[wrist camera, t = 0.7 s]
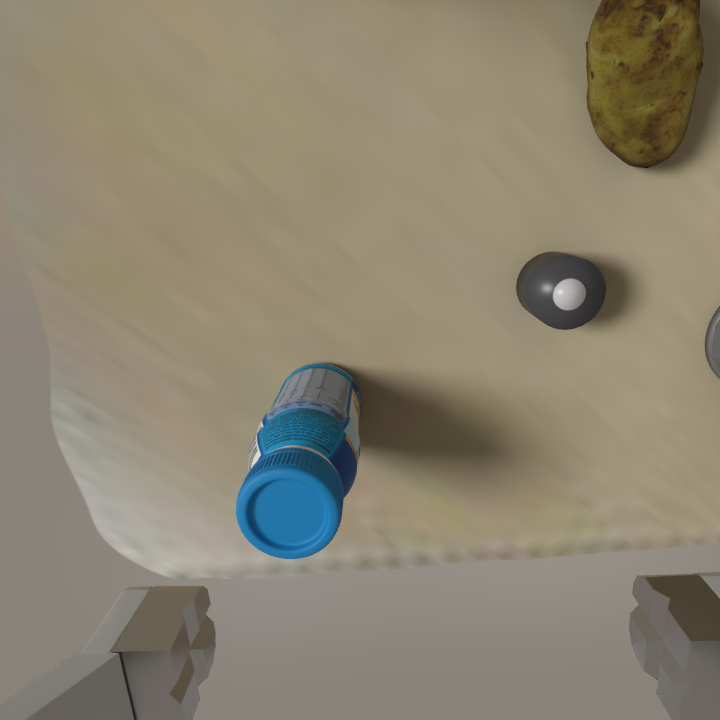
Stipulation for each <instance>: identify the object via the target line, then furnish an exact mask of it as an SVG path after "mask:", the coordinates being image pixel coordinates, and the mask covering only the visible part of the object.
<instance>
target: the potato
mask: <svg viewBox="0 0 720 720" xmlns="http://www.w3.org/2000/svg"><path fill="white" fill-rule="evenodd" d="M699 15H700V0H602V1H601V4H600V6H599V8H598V10H597V12H596V14H595V17H594V19H593V22H592V25H591V28H590V32H589V37H588V41H587V42H586V52H587V79H588V89H587V107H588V111H589V114H590V117H591V121H592V124H593V127H594V129H595V131H596V133H597V135H598V137H599V139H600V140H601V141H602V143H603V144H604V145H605V146H606V147H607V148H608V149H609V150H610V151H611V152H612V153H614V154H615V155H616V156H617V157H619V158H620V159H621V160H622V161H624V162H625V163H627V164H628V165H630V166H634V167H643V168H648V167H650V166H653V165H656V164H658V163H661V162H663V161H664V160H666V159H667V158H669V157H670V156H671V155H672V154H673V153H674V152H675V151H676V150H677V148H678V147H679V145H680V144H681V142H682V140H683V137H684V135H685V132H686V129H687V126H688V122H689V118H690V114H691V109H692V105H693V100H694V95H695V90H696V86H697V81H698V76H699V74H700V72H701V69H702V65H703V63H702V56H703V40H702V34H701V30H700V25H699Z"/></svg>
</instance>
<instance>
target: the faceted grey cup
mask: <svg viewBox="0 0 720 720" xmlns="http://www.w3.org/2000/svg"><path fill="white" fill-rule="evenodd" d="M705 351H706V357H707V360H708V363H709V365H710V367H711V369H712V370H713V372H714V373H715V374H716V376H717V377H718V378H719V379H720V307H719V308H718V309H717V311H716V312H715V314H714V316H713V317H712V319H711V322H710V324H709V327H708V330H707V333H706V339H705Z"/></svg>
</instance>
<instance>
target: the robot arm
mask: <svg viewBox="0 0 720 720" xmlns="http://www.w3.org/2000/svg"><path fill="white" fill-rule="evenodd" d="M632 594H633V595H634V597H635V599H636V600H637V602H638V604H639V605H638V606H637V607H636V608H635V609H634V610H633V611H632V612H631V613H630V624H629V631H630V637H631V642H632V646H633V649H634V652H635V654H636V657H637V659H638V661H639V663H640V665H641V666H642V668H643V670H644V671H645V672H647V673H648V674H650V675H651V676H652V677H654V678H655V679H656V680H658V685H657V694H658V696H659V698H660V700H661V702H662V703H663V705H664V707H665V708H666V710H667V712H668V714H669V715H670V717H671V719H672V720H720V572H709V573H693V574H675V575H642V576H637V577H636V579H635V581H634V584H633V592H632ZM209 606H210V599H209V594H208V590H207V589H206V588H205V587H204V586H154V587H129V588H127V589H125V590H124V591H123V592H122V593H121V595H120V596H119V598H118V599H117V601H116V602H115V604H114V605H113V607H112V608H111V610H110V611H109V613H108V614H107V616H106V617H105V619H104V620H103V621H102V623H101V624H100V626H99V627H98V629H97V630H96V632H95V633H94V635H93V636H92V638H91V639H90V641H89V642H88V644H87V645H86V647H85V648H84V650H83V651H82V653H81V654H72V655H70V656H69V657H67V658H66V659H64V660H63V661H61V662H60V663H58V664H57V665H55V666H54V667H52V668H51V669H49V670H48V671H46V672H45V673H44V674H42V675H40V676H39V677H37V678H36V679H34V680H33V681H31V682H30V683H28V684H27V685H25V686H24V687H22V688H21V689H20V690H18V691H16V692H15V693H14V694H12V695H11V696H9V697H7V698H6V699H4V700H3V701H1V702H0V720H192V719H193V716H194V714H195V711H196V708H197V705H198V703H199V700H200V697H199V692H198V685H200V684H201V683H202V682H203V681H204V680H205V679H206V678H207V677H208V675H209V672H210V669H211V666H212V664H213V658H214V652H215V646H216V645H215V627H214V622H213V621H212V620H211V619H210V618H209V617H208V616H207V615H206V613H207V611H208V608H209Z"/></svg>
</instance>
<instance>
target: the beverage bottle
mask: <svg viewBox="0 0 720 720" xmlns="http://www.w3.org/2000/svg"><path fill="white" fill-rule="evenodd" d="M361 410H362V398H361V393H360V390H359V388H358V386H357V384H356V382H355V381H354V379H353V378H352V377H351V376H350V375H349V374H348V373H347V372H345V371H344V370H342V369H341V368H339V367H337V366H334V365H331V364H326V363H313V364H308V365H305V366H302V367H300V368H298V369H297V370H295V371H294V372H293V373H292V374H290V375H289V377H288V378H287V379H286V380H285V382H284V384H283V386H282V388H281V390H280V392H279V394H278V396H277V398H276V400H275V402H274V403H273V405H272V407H271V409H270V411H269V412H268V413H267V414H266V415H265V417H264V418H263V419H262V421H261V423H260V425H259V427H258V430H257V432H256V436H255V438H254V440H253V442H252V444H251V447H250V450H249V455H248V471H249V473H248V475H247V477H246V479H245V481H244V483H243V485H242V487H241V489H240V492H239V494H238V498H237V499H238V500H237V505H236V515H237V521H238V524H239V527H240V529H241V531H242V533H243V534H244V536H245V537H246V538H247V540H248V541H249V542H250V543H251V544H252V545H254V546H255V547H256V548H257V549H259V550H261V551H262V552H264V553H266V554H269V555H271V556H274V557H278V558H284V559H298V558H304V557H307V556H310V555H313V554H315V553H317V552H319V551H320V550H322V549H323V548H324V547H326V546H327V545H328V544H329V543H330V541H331V540H332V539H333V537H334V536H335V534H336V532H337V530H338V527H339V525H340V522H341V517H342V509H343V499H344V497H345V496H346V495H347V494H348V492H349V491H350V489H351V487H352V485H353V483H354V480H355V477H356V473H357V464H358V460H359V456H360V439H359V434H358V430H359V419H360V415H361Z"/></svg>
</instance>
